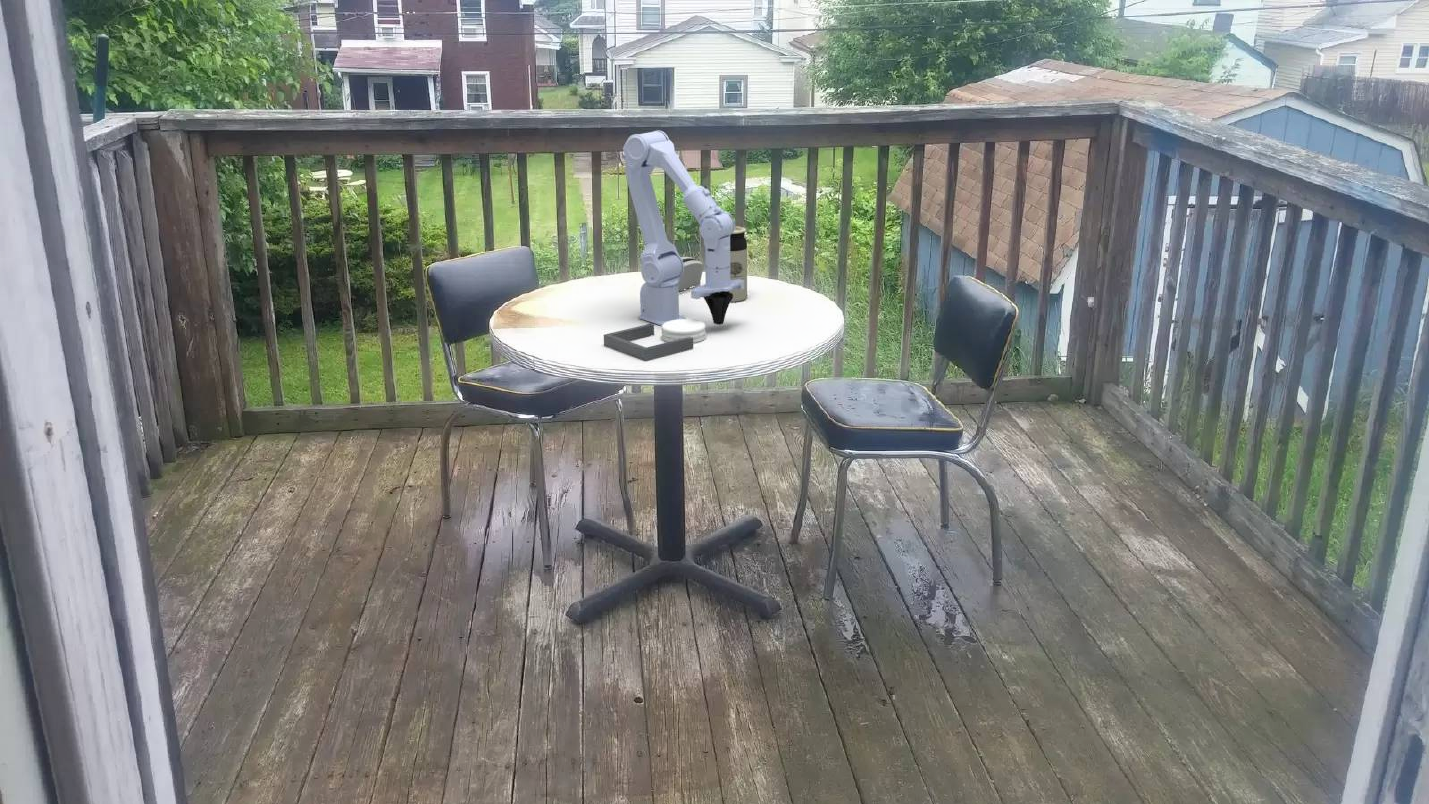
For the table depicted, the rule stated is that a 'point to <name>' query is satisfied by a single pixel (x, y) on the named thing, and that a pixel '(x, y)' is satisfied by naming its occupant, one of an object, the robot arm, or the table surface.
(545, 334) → the table surface
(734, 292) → the travel mug
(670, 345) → the frame
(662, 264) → the robot arm
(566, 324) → the table surface
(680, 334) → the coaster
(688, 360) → the table surface
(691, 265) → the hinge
